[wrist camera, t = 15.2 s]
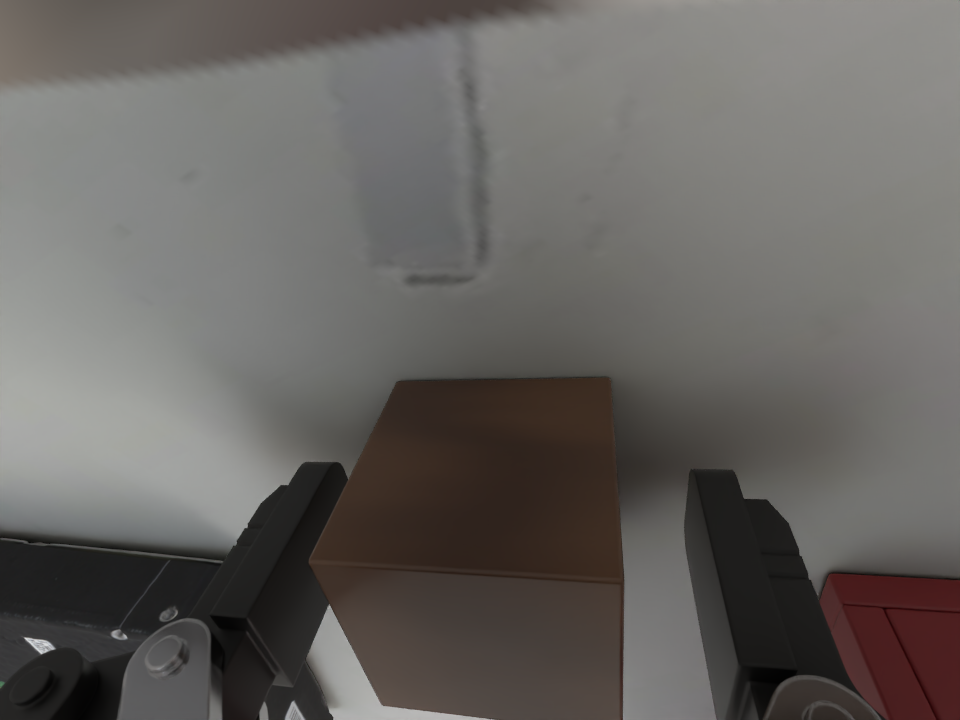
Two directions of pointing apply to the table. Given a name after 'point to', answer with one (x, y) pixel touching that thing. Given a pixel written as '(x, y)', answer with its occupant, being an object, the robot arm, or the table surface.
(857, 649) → the red box
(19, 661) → the disk drive
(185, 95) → the table surface
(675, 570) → the table surface
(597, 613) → the block
